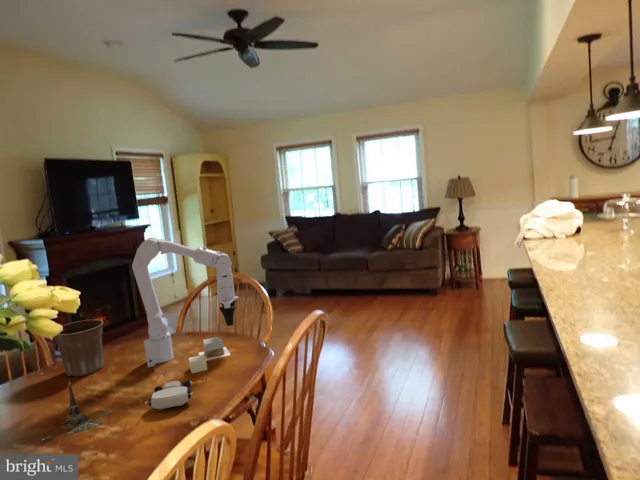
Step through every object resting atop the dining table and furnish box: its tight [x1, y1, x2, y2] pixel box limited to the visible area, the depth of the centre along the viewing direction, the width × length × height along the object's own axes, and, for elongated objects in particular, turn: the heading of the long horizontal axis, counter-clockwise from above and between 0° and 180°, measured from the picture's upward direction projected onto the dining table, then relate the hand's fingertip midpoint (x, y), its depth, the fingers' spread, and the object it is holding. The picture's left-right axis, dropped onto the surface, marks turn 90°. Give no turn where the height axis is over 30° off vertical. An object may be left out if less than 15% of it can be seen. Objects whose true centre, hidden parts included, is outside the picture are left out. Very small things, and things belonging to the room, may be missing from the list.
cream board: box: [198, 346, 232, 362], centre depth 166 cm, size 10×10×1 cm
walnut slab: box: [203, 347, 224, 358], centre depth 166 cm, size 6×6×2 cm
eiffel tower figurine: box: [41, 381, 108, 441], centre depth 124 cm, size 15×10×13 cm
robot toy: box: [144, 380, 194, 411], centre depth 133 cm, size 12×4×15 cm
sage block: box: [188, 355, 208, 374], centre depth 153 cm, size 5×5×4 cm
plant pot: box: [54, 319, 105, 377], centre depth 164 cm, size 16×16×16 cm
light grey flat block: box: [202, 336, 224, 352], centre depth 166 cm, size 6×6×2 cm
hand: (230, 322), depth 171 cm, fingers open, 7 cm apart
